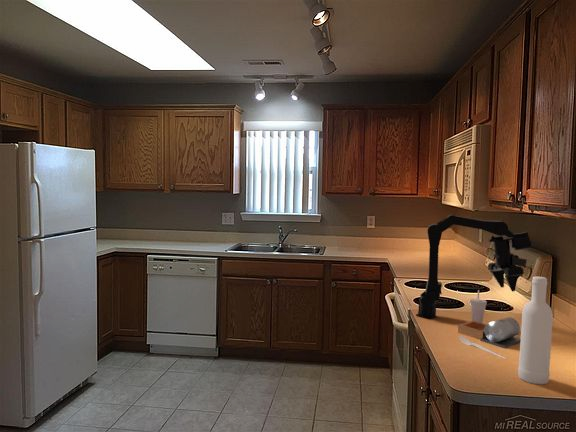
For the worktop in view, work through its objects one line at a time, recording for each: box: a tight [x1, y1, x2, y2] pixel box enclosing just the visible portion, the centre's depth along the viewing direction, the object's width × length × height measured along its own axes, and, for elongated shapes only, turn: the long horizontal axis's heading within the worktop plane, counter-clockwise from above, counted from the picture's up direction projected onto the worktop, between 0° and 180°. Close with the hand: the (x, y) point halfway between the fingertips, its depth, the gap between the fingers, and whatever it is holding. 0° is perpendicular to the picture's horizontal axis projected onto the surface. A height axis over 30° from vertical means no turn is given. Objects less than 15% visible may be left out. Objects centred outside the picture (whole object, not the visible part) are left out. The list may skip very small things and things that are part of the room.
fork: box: [457, 334, 508, 360], centre depth 157 cm, size 3×20×2 cm, turn 25°
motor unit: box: [457, 316, 521, 349], centre depth 169 cm, size 19×13×8 cm
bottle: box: [517, 275, 554, 385], centre depth 132 cm, size 8×8×30 cm
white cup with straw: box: [469, 289, 488, 323], centre depth 186 cm, size 6×6×14 cm
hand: (507, 289), depth 186 cm, fingers open, 9 cm apart
